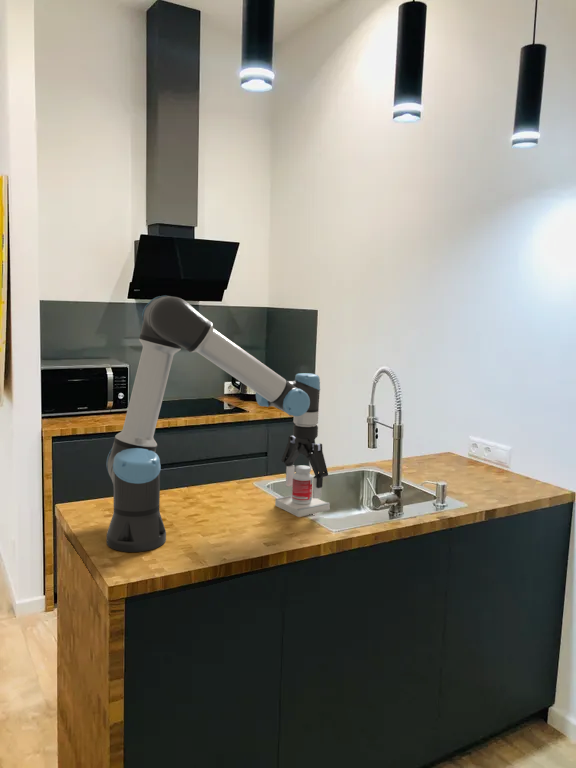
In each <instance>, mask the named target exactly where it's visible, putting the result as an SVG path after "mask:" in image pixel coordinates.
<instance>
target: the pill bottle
mask: <svg viewBox="0 0 576 768" xmlns="http://www.w3.org/2000/svg"><path fill="white" fill-rule="evenodd" d="M311 469H312V467H311V466H309V465H305V464H303V465H300V464H299V465H295V472H294V475H293V483H292V486H291V489H292V490H291V495H292V501H293V502H294V503H296V504H309V503H311V501H312V496H313V477H314V476H313V475H312V474H311V471H312V470H311Z"/></svg>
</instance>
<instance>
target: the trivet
mask: <svg viewBox="0 0 576 768" xmlns="http://www.w3.org/2000/svg"><path fill="white" fill-rule="evenodd" d="M312 497H313V495H312ZM274 500H275V502H274V503H275V507H276V508H277V507H278V508H279V509H282V510H284V511H285V512H287V513H289V514H290V515H291V514H292V515H293V516H295V517H297V518H301V517H306V516H309V514H310V515H315V514H318V513H324V512H327V511H330V506H331V504H330V502H327V501H324V500H321V499H320V498H315V499H314V498H312V501H311V503H309V504H296V503H294V502H293V501H292V494H291V495H286V496H281V497H277V498H275V499H274Z"/></svg>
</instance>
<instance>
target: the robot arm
mask: <svg viewBox="0 0 576 768" xmlns="http://www.w3.org/2000/svg"><path fill="white" fill-rule="evenodd" d="M141 322H142V326H141V330H140V334H139V337H138V338H139V339H138V341H139V342H140V344H141V345H142V350H141V353H140V357H139V363H138V366H137V370H136V374H135V377H134V382H133V386H132V389H131V390H132V391H131V395H130V399H129V403H128V406H127V411H126V414H125V419H124V423H123V426H122V430H121V431H120V432H118V433H116V435H115V436H114V440H113V444H112V448H111V449H110V450H109V453H108V455H107V458H106V465H105V466H106V470H107V473H108V476H109V477H110V479H111V482H112V484H113V485H112V487H113V512H112V513H113V514H112V516H111V520H110V522H109V526H108V529H107V531H106V545H107V546H108V547H109V548H110V549H112V550H115V551H120V552H127V553H137V552H138V553H139V552H140V553H141V552H146V551H151V550H155V549H157V548H159V547H161V546H163V545H164V544H165V543H166V541H167V530H166V528H165V527H166V526H165V524H164V521H163V518H162V515H161V511H160V505H161V504H160V500H161V499H160V497H161V496H160V493H161V492H160V489H161V470H162V469H161V467H162V466H161V459H160V456H159V455H158V453H156V451H157V447H158V443H157V442H156V440H155V438H154V435H155V433H156V427H157V424H158V419H159V415H160V411H161V407H162V404H163V401H164V400H163V399H164V396H165V392H166V387H167V383H168V378H169V374H170V372H171V371H170V370H171V367H172V363H173V359H174V356H175V354H177V353H179V352H180V351H181V350H182V348H183V349H185V350H186V351H188V352H189V353H197V354H199V355H200V356H202V357H204V358H205V359H206V360H208V361H210V362H211V364H213V365H215V366H216V367H218V368H220V369H221V370H222V371H224V372H226V374H228V375H230V376H231V377H233V378H234V379H236V380H237V381H239V382H240V383H242V384H243V385H245V386H246V387H248V388H249V389H250V390H251V391H253V392H255V399H256V400H255V401H256V402H257V405H258V406H260V407H267V408H270V407H274V408H276V409H278V410H281V411H283V412H284V413H286V414H287V415H289V416H293V421H292V422H293V423H294V424H293V426H292V427H293V429H292V431H293V432H292V435H289V436H288V441H287V445H286V447H285V450H284V452H283V455H282V457H281V462H282V463H284V466H285V487H292V483H293V475H294V474H295V473H296V472H295V467H296V465H295V462H296V460H297V459H298V457H299V456H300V455H303V456H305V458H307V459H308V462H309V464H310V467H311V469H312V472H313V474H314V476H312V477H313V480H312V496H313V497H312V498H314V499H315V498H317V499H320V498H322V489H323V481H324V480H323V479H324V477H328V476H329V473H328V467H327V463H326V460H325V456H324V452H323V444H322V443H316V438H318V433H319V426H318V425H317V424H319V412H320V411H319V410H320V409H319V407H320V392H321V381H320V380H321V379H320V376H319V375H318V374H315V373H310V372H309V373H308V372H307V373H306V372H305V373H304V372H303V373H296V374H295V375H294V376H295V377H294V380H287V379H285V378H284V377H283V376H281V375H280V374H278V373H277V372H275V371H274V370H273V369H271V368H270V367H269V366H267V365H266V364H265V363H262V362H261V361H260V360H259V359H257V358H256V357H255V356H253V355H252V354H250V353H249V352H248V351H246V350H244V349H243V348H241V346H239V345H238V344H236V343H235V342H233V341H232V340H231V339H229V338H227V336H225V335H223V334H222V333H221V332H219V331H218V330H216V329H215V328H214V325H213V322H212V321H211V320H209V319H208V318H206V316H204V315H203V314H201V313H200V312H199V311H198V310H196V309H195V308H194V307H193V306H192V305H191V304H190V303H188V302H187V301H186V300H185V299H182V298H181V297H178V296H171V295H161V296H160V295H159V296H156V297H154V298H152V299H151V300H150V301H149V302H148V303H147V304H146V305H145V306H144V309H143V310H142V314H141Z"/></svg>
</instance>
